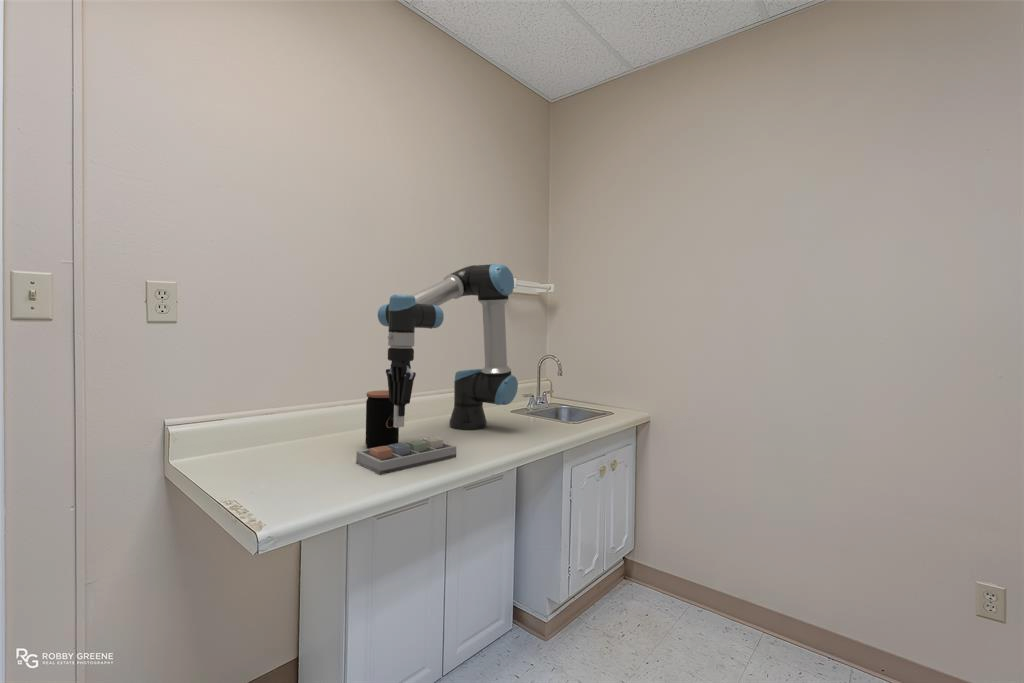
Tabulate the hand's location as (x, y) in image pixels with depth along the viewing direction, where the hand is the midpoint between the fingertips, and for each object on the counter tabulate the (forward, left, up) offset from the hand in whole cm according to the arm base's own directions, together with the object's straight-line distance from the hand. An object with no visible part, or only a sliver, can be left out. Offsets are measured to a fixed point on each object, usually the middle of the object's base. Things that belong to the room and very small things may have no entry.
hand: (398, 426), depth 136 cm
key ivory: (-12, 0, -8) cm, 15 cm away
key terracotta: (+6, 0, -8) cm, 10 cm away
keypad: (-3, 0, -11) cm, 11 cm away
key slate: (0, 0, -8) cm, 8 cm away
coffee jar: (-5, -19, -11) cm, 23 cm away
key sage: (-6, 0, -8) cm, 10 cm away
